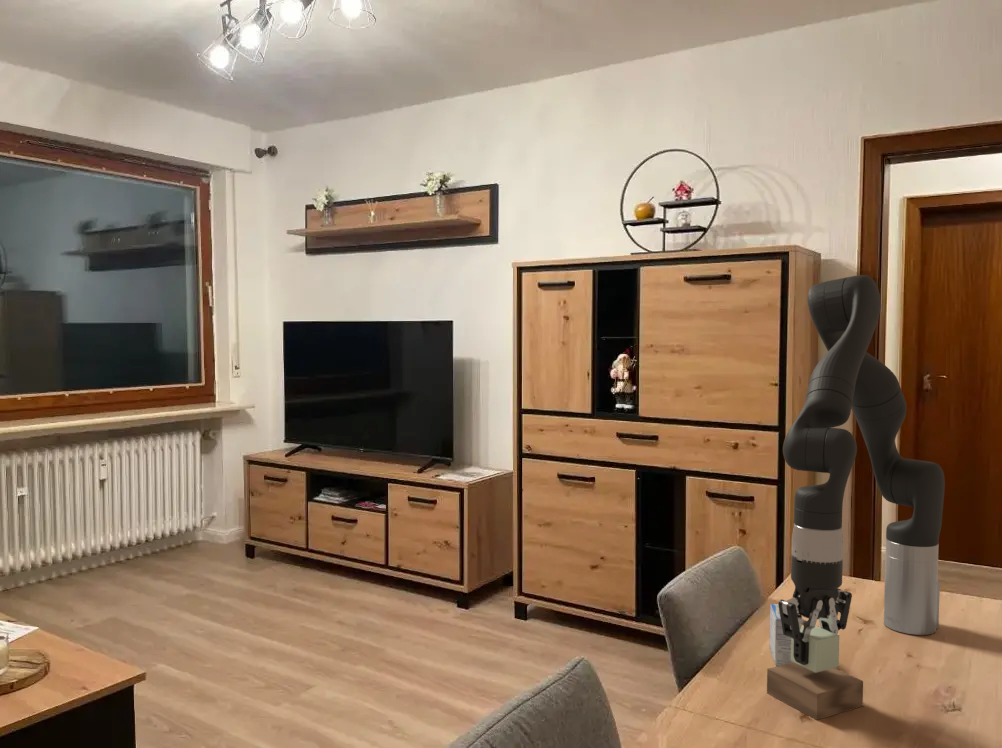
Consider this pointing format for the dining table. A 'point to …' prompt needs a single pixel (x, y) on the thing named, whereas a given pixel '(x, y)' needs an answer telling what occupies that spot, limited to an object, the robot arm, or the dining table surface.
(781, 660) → the medicine box
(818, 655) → the sage green cube
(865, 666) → the dining table surface
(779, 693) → the walnut block
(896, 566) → the robot arm
